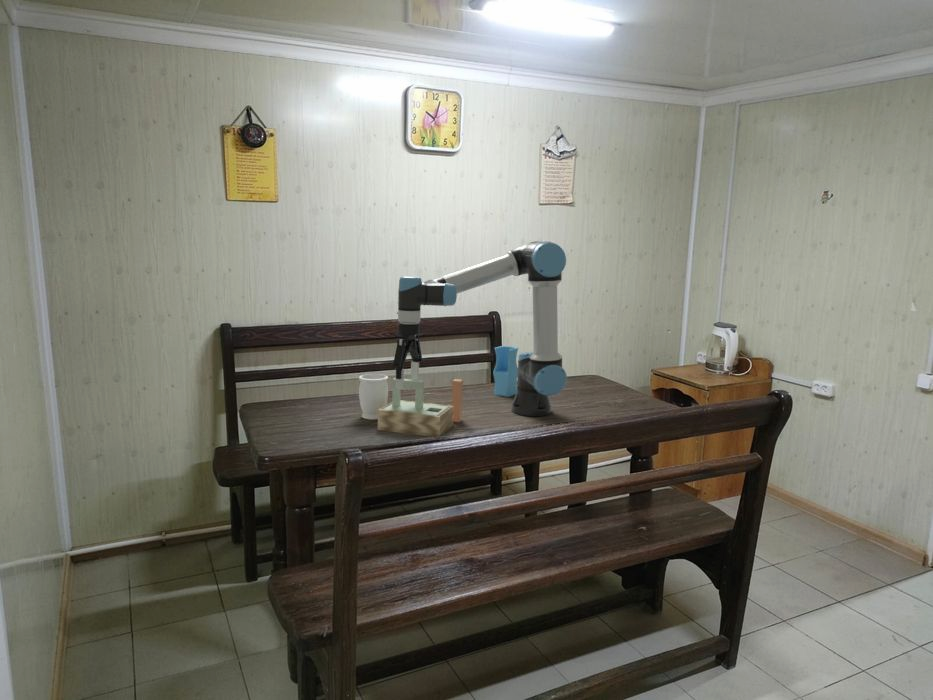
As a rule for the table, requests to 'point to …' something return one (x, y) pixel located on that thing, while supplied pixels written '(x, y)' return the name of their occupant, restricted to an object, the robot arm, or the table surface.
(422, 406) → the lid
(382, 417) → the wooden box
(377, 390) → the jar
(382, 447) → the table surface
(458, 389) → the key peg
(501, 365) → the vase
